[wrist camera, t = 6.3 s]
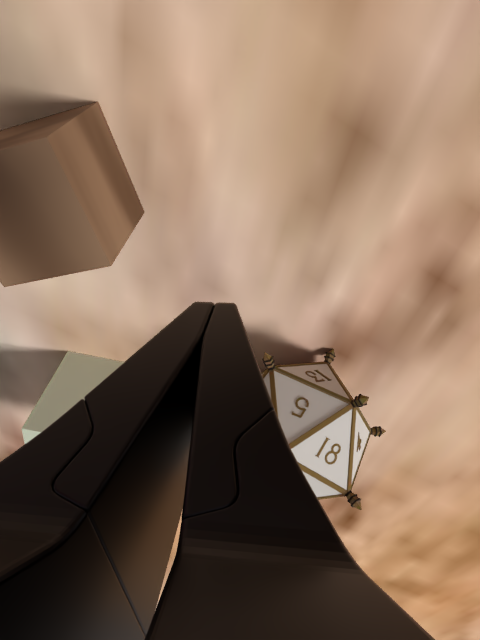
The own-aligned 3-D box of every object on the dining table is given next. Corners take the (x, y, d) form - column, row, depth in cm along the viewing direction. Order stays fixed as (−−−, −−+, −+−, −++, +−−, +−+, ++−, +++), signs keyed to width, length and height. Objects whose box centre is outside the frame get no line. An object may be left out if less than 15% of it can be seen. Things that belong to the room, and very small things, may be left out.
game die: (327, 332, 30) (452, 449, 23) (248, 426, 32) (344, 557, 25) (244, 289, 23) (387, 438, 17) (150, 412, 25) (247, 586, 19)
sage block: (148, 366, 28) (118, 446, 23) (145, 417, 31) (118, 498, 26) (68, 350, 28) (21, 428, 23) (72, 403, 31) (32, 482, 26)
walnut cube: (98, 101, 19) (46, 136, 15) (144, 211, 22) (111, 265, 18) (-2, 131, 20) (-75, 171, 16) (54, 231, 23) (4, 287, 19)
